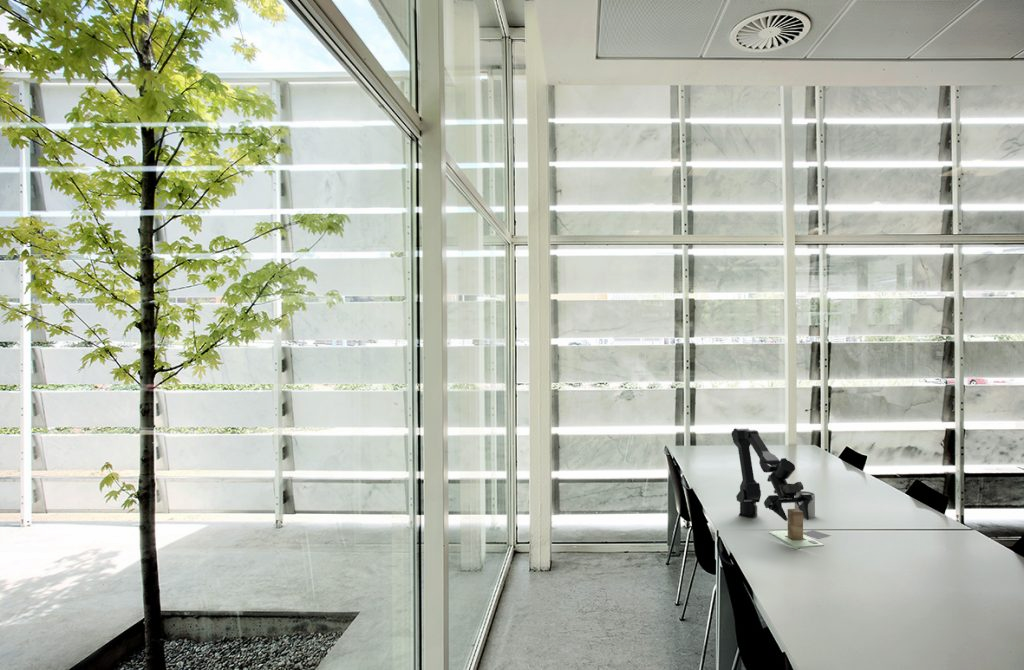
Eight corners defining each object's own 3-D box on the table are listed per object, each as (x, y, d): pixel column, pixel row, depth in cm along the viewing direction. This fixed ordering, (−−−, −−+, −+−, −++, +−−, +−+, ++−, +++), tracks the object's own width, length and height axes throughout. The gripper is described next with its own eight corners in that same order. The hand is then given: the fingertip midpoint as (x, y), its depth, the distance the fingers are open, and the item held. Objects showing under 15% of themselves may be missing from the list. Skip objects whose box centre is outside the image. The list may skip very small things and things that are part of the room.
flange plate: (768, 534, 249) (768, 531, 249) (795, 532, 251) (795, 529, 251) (795, 549, 232) (795, 545, 232) (824, 547, 234) (824, 544, 234)
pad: (800, 534, 248) (800, 533, 248) (812, 531, 252) (812, 530, 252) (818, 540, 241) (818, 538, 241) (831, 537, 245) (831, 535, 245)
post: (787, 539, 243) (787, 509, 243) (796, 538, 244) (796, 508, 244) (793, 542, 239) (793, 512, 239) (803, 541, 240) (803, 511, 240)
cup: (803, 518, 270) (803, 496, 270) (790, 513, 278) (790, 491, 278) (819, 517, 273) (819, 494, 273) (805, 512, 280) (805, 490, 281)
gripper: (767, 475, 244) (784, 510, 233) (809, 473, 247) (828, 508, 236) (757, 490, 252) (772, 525, 241) (798, 488, 255) (815, 522, 244)
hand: (797, 519), depth 240 cm, fingers open, 9 cm apart
